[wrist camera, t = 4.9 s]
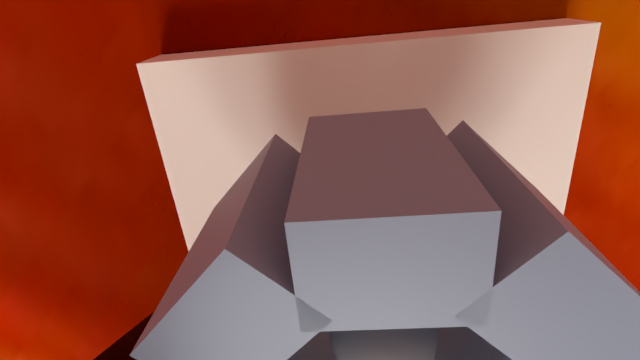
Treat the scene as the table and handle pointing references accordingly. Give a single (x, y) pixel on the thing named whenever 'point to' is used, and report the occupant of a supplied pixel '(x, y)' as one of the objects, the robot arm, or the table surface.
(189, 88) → the gear board
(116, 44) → the table surface
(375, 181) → the slate gear
